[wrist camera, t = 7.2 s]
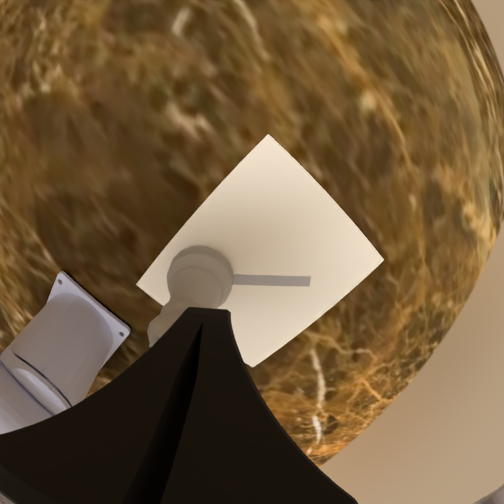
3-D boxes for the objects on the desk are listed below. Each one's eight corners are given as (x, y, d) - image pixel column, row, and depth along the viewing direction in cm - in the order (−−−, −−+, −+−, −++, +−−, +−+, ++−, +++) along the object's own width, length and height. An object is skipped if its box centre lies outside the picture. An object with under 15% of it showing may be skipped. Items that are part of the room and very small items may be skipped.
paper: (252, 366, 22) (252, 367, 22) (136, 283, 19) (136, 284, 19) (383, 259, 18) (384, 260, 18) (268, 134, 15) (268, 134, 15)
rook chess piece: (247, 266, 18) (245, 348, 11) (212, 310, 20) (195, 396, 12) (191, 229, 17) (151, 294, 10) (160, 278, 19) (117, 354, 11)
